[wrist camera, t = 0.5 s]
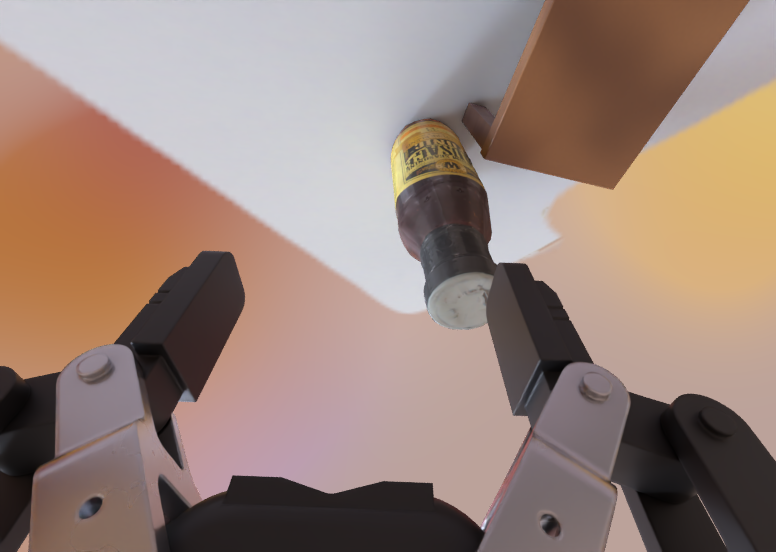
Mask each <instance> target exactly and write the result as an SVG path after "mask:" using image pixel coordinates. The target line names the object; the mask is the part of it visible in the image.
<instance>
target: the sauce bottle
mask: <svg viewBox="0 0 776 552" xmlns="http://www.w3.org/2000/svg"><path fill="white" fill-rule="evenodd" d="M391 168H392V177H393V187H394V198H395V209H396V216H397V219H398V227H399V229H398V231H399V234H400V237H401V240H402V242H403V244H404V246H405V248H406V249H407V251H408V252H409V254H410V255H411V256H412V257H414V258H415V259H417V260H418V261H420V262H421V265H422V267H423V269H424V274H425V279H426V282H425V286H424V297H425V302H426V306H427V310H428V313H429V315H430V316H431V317H432V319H433V320H434V321H435V322H436V323H438V324H439V325H441V326H443V327H446V328H449V329H460V330H462V329H465V330H469V329H474V328H478V327H481V326H483V325H485V324H487V323H488V322H487V317H486V304H487V299H488V295H489V292H490V288H491V285H492V281H493V278H494V274H495V270H496V267H497V264H495V263H494V262H493V260H492V258H491V255H490V253H489V251H488V243H489V241H490V240H491V234H492V230H491V222H490V214H489V206H488V198H487V193H486V191H485V189H484V186H483V184H482V182H481V180H480V179H479V177H478V174H477V173H476V171H475V169H474V167H473V165H472V163H471V161H470V159H469V157H468V155H467V154H466V152H465V150H464V148H463V146H462V144H461V143H460V140H459V138H458V137H457V135H456V134H455V133H454V132H453V131H452V130H451V129H450V128H449V127H448V126H446V125H444V124H443V123H441V122H440V121H437V120H433V119H423V120H419V121H416V122H413V123H411V124H409V125H406V126H405V128H404V129H403V130H402V131H401V132H400V134H399V135H398V137H397V139H396V140H395V142H394V145H393V147H392V153H391Z"/></svg>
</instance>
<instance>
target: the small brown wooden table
mask: <svg viewBox="0 0 776 552" xmlns="http://www.w3.org/2000/svg"><path fill="white" fill-rule="evenodd" d="M748 2H749V0H545V2H544V4H543V7H542V9H541V11H540V14H539V16H538V18H537V21H536V23H535V25H534V28H533V30H532V32H531V35H530V37H529V40H528V42H527V44H526V47H525V49H524V51H523V54H522V56H521V58H520V61H519V63H518V65H517V68H516V70H515V72H514V75H513V77H512V79H511V82H510V84H509V86H508V89H507V91H506V93H505V96H504V98H503V100H502V103H501V105H500V107H499V110H498V112H497V114H496V117H495V116H494V115H493V114H492V113H491V112H490V111H489V110H488V109H487V108H486V107H482V106H479V105H475V104H471V103H469V104H468V106H467V109H466V112H465V115H464V117H463V120H462V123H463V124H464V125H465V127H466V128H467V129H468V131H469V132H470V133H471V135H472V136H473V137H474V139H475V140H476V142H477V143H478V144H479V146H480V147H481V148H482V150H481V152H480V153H481V155H482V156H483V158H484V159H486V160H490V161H494V162H498V163H503V164H507V165H511V166H515V167H519V168H523V169H528V170H532V171H536V172H540V173H544V174H549V175H553V176H557V177H561V178H565V179H570V180H574V181H578V182H582V183H586V184H591V185H595V186H599V187H603V188H607V189H614V188H615V186H616V185H617V183H618V182H619V181H620V179H621V178H622V176H623V175H624V174H625V172H626V171H627V169H628V168H629V167H630V165H631V164H632V163H633V161H634V160H635V158H636V157H637V156H638V154H639V153H640V152H641V150H642V149H643V147H644V146H645V145H646V143H647V142H648V140H649V139H650V138H651V136H652V135H653V134H654V132H655V131H656V129H657V128H658V127H659V125H660V124H661V122H662V121H663V120H664V118H665V117H666V115H667V114H668V113H669V111H670V110H671V109H672V107H673V106H674V104H675V103H676V102H677V100H678V99H679V97H680V96H681V95H682V93H683V92H684V91H685V89H686V88H687V86H688V85H689V84H690V82H691V81H692V79H693V78H694V77H695V75H696V74H697V73H698V71H699V70H700V68H701V67H702V66H703V64H704V63H705V61H706V60H707V59H708V57H709V56H710V55H711V53H712V52H713V50H714V49H715V48H716V46H717V45H718V43H719V42H720V41H721V39H722V38H723V37H724V35H725V34H726V32H727V31H728V30H729V28H730V27H731V25H732V24H733V23H734V21H735V20H736V19H737V17H738V16H739V14H740V13H741V12H742V10H743V9H744V7H745V6H746V5H747V3H748Z"/></svg>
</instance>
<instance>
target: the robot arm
mask: <svg viewBox="0 0 776 552" xmlns="http://www.w3.org/2000/svg"><path fill="white" fill-rule="evenodd" d="M244 302H245V293H244V288H243V285H242V282H241V278H240V276H239V272H238V269H237V266H236V262H235V259H234V256H233V255H232V254H231V253H230V252H221V251H220V252H219V251H202V252H201V253H200V254H199V255H198V256H197V257H196V259H195V260H194V261H193V263H192V264H191V265H190V266H189V267H184V268H182V269H181V270H179V271H178V272H176V273H175V274H173V275H172V276H170V277H169V278H168V279H167V280H166V281H165V282H164V284H163V285H162V286H161V287H160V288H159V290H158V293H155V294H154V296H153V297H152V298H151V299H150V300H149V304H146V305H145V307H144V308H143V309H142V310H141V312H139V314H138V315H137V316H136V317H135V319H134V320H133V321H132V322H131V323H130V325H129V326H128V327H127V328H126V329H125V331H124V332H123V333H122V334H121V335H120V337H119V338H118V339H117V340H116V341H115V343H114V344H110V345H104V346H100V347H97V348H94V349H91V350H89V351H87V352H85V353H83V354H81V355H80V356H78V357H76V358H75V359H74V360H72V361H71V362H70V363H69V364H68V365H67V366H66V367H65V368H64V369H63V370H62V371H61V372H58V373H52V374H48V375H44V376H38V377H34V378H29V379H24V380H23V379H22V378H21V377H20V376H19V375H18V374H17V373H16V372H15V371H14V370H13V369H11V368H9V367H5V366H0V552H17V551H18V549H19V548H20V546H21V544H22V543H23V541H24V540H25V538H26V537H27V535H28V533H29V532H30V533H29V551H28V552H604V551H605V547H606V543H607V539H608V535H609V531H610V527H611V522H612V518H613V514H614V510H615V505H616V501H617V488H616V486H615V485H613V484H611V482H614V483H617V484H619V485H621V487H622V490H623V492H624V495H625V497H626V500H627V502H628V505H629V507H630V510H631V512H632V515H633V517H634V520H635V522H636V525H637V527H638V530H639V532H640V535H641V537H642V540H643V542H644V545H645V547H646V550H647V552H776V461H775V460H774V459H773V457H772V456H771V455H770V453H769V452H768V451H767V449H766V448H765V447H764V445H763V444H762V443H761V441H760V440H759V439H758V438H757V436H756V435H755V434H754V432H753V431H752V430H751V428H750V427H749V426H748V425H747V423H746V422H745V421H744V420H743V419H742V418H741V417H740V416H738V415H737V414H736V413H735V412H734V411H732V410H731V409H729V408H728V407H726V406H725V405H723V404H721V403H720V402H718V401H715V400H713V399H711V398H708V397H705V396H702V395H697V394H684V395H681V396H679V397H678V398H676V400H674V401H673V403H672V404H671V405H670V404H666V403H663V402H660V401H656V400H653V399H650V398H646V397H643V396H640V395H637V394H634V393H631V392H628V391H627V389H626V387H625V386H624V384H623V383H622V382H621V381H620V380H619V379H618V378H617V377H616V376H615V375H614V374H612V373H611V372H609V371H608V370H606V369H604V368H602V367H600V366H598V365H595V364H594V363H593V361H592V359H591V358H590V356H589V354H588V352H587V350H586V348H585V346H584V344H583V343H582V341H581V339H580V337H579V335H578V333H577V331H576V329H575V328H574V326H573V324H572V322H571V321H569V317H568V315H567V313H566V311H565V309H563V305H562V304H561V302H560V300H559V298H558V296H557V294H556V293H555V292H554V291H553V290H552V289H551V288H550V287H549V286H548V285H547V284H545V283H544V282H543V281H535V280H534V278H533V276H532V274H531V272H530V270H529V268H528V266H527V265H526V264H523V263H499V264H498V265H497V267H496V270H495V274H494V278H493V281H492V285H491V288H490V292H489V295H488V299H487V304H486V317H487V322H488V325H489V329H490V333H491V336H492V340H493V344H494V347H495V351H496V355H497V358H498V362H499V366H500V369H501V373H502V377H503V380H504V384H505V387H506V391H507V395H508V398H509V402H510V406H511V409H512V413H513V415H514V416H515V415H516V416H528V418H529V421H530V425H531V427H530V429H529V431H528V433H527V435H526V437H525V439H524V441H523V443H522V445H521V447H520V449H519V451H518V453H517V455H516V457H515V459H514V462H513V463H512V465H511V467H510V469H509V471H508V473H507V475H506V477H505V479H504V481H503V484H502V485H501V487H500V489H499V491H498V493H497V495H496V497H495V499H494V501H493V503H492V505H491V506H490V508H489V510H488V512H487V514H486V516H485V518H484V520H483V522H482V524H481V526H480V527H479V526H478V525H477V524H476V523H475V522H474V521H472V520H471V519H470V518H469V517H468V516H467V515H466V514H464V513H463V512H461V511H460V510H458V509H457V508H455V507H454V506H452V505H450V504H448V503H446V502H444V501H442V500H439V499H437V498H434V497H433V483H414V482H388V481H383V482H379V483H375V484H371V485H367V486H363V487H359V488H355V489H351V490H347V491H343V492H339V493H334V494H328V493H324V492H321V491H319V490H316V489H313V488H310V487H307V486H305V485H302V484H299V483H296V482H293V481H291V480H288V479H285V478H282V477H257V476H232V479H231V482H230V485H229V487H228V490H227V491H226V492H222V493H219V494H216V495H214V496H211V497H209V498H207V499H205V500H203V501H202V499H201V497H200V494H199V492H198V490H197V488H196V486H195V484H194V482H193V479H192V476H191V473H190V470H189V466H188V462H187V458H186V455H185V451H184V447H183V443H182V439H181V435H180V431H179V428H178V424H177V420H176V417H175V415H174V413H173V411H174V409H175V407H176V405H177V403H178V402H179V401H183V402H184V401H185V402H196V401H197V399H198V397H199V395H200V393H201V391H202V389H203V387H204V385H205V383H206V381H207V380H208V378H209V376H210V374H211V372H212V370H213V368H214V366H215V363H216V362H217V359H218V358H219V356H220V354H221V352H222V349H223V348H224V346H225V344H226V342H227V340H228V338H229V336H230V334H231V332H232V330H233V328H234V326H235V324H236V322H237V320H238V318H239V316H240V314H241V312H242V310H243V307H244ZM697 494H698V495H699V497H700V499H701V500H702V502H703V504H704V506H705V508H706V509H707V511H708V513H709V515H710V517H711V518H712V520H713V522H714V524H715V526H716V528H717V529H718V531H719V533H720V535H721V537H722V539H723V541H724V543H725V545H726V546H725V545H724V543H723V541H722V539H721V537H720V536H719V534H718V532H717V530H716V528H715V526H714V524H713V523H712V521H711V519H710V517H709V516H708V514H707V512H706V510H705V508H704V506H703V504H702V503H701V501H700V499H699V497H698V495H697Z"/></svg>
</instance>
